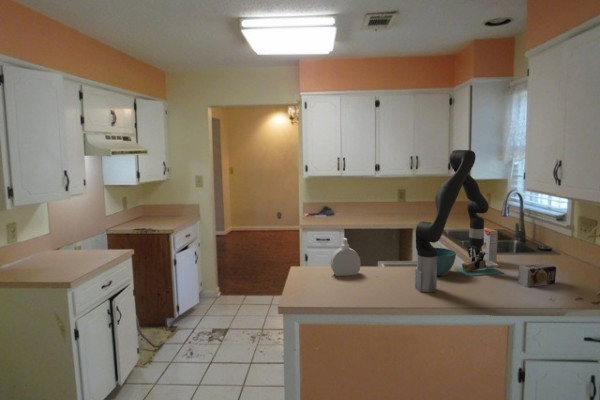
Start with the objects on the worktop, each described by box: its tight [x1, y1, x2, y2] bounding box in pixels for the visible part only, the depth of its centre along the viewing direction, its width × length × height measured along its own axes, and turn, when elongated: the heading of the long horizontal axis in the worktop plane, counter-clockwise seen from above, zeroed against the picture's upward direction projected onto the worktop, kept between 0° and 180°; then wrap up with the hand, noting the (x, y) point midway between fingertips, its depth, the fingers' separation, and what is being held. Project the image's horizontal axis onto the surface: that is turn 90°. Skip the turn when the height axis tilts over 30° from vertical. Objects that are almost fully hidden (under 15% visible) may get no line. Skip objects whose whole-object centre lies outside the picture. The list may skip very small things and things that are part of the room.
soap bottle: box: [329, 237, 362, 277], centre depth 217 cm, size 16×5×20 cm, turn 97°
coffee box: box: [517, 263, 557, 288], centre depth 197 cm, size 9×6×16 cm
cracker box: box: [477, 226, 499, 264], centre depth 232 cm, size 14×6×21 cm, turn 17°
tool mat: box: [453, 267, 504, 277], centre depth 218 cm, size 22×12×1 cm, turn 98°
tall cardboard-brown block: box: [461, 260, 499, 272], centre depth 217 cm, size 18×7×4 cm, turn 98°
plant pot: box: [434, 247, 457, 277], centre depth 216 cm, size 18×18×12 cm
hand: (475, 266), depth 217 cm, fingers closed on tall cardboard-brown block, 3 cm apart
